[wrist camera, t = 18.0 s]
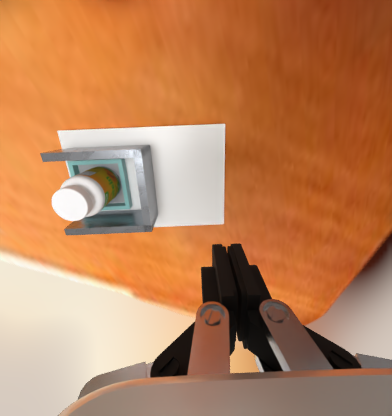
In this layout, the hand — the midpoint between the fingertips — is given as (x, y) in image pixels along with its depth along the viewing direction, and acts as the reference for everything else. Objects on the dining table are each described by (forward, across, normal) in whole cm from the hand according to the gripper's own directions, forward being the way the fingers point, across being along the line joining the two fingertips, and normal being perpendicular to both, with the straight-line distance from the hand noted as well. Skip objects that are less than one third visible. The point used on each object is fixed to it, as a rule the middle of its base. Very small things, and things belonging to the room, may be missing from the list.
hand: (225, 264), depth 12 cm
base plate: (+23, +9, 0) cm, 24 cm away
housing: (+21, +14, 0) cm, 26 cm away
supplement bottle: (+22, +16, 0) cm, 27 cm away
